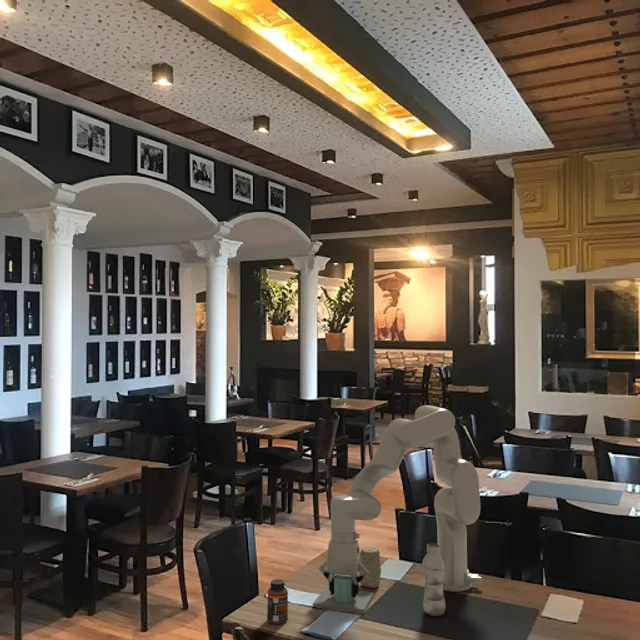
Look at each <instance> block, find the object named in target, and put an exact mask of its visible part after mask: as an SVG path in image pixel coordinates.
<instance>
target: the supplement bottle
mask: <svg viewBox="0 0 640 640" xmlns="http://www.w3.org/2000/svg"><path fill="white" fill-rule="evenodd" d="M285 586H286V585H285V581H284V579H280V578H279V579H277V578H276V579H272V580H271V581H270V587H269V588H268V589H267V593H266V594H267V595H266V596H267V601H266V602H267V608H266V609H267V622H268V623H269V624H272V625H276V626H277V625H278V626H279V625H283V624H285V623H287V622H288V619H289V618H288V617H289V605H288V604H289V598H288V597H289V595H288V594H289V591H288V589H287V588H286V587H285Z"/></svg>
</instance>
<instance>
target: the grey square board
mask: <svg viewBox="0 0 640 640" xmlns="http://www.w3.org/2000/svg"><path fill="white" fill-rule="evenodd" d="M374 593H375V592H370V591H359V592H358V594H357V595H356V597H355V598H354V600H352V601H349V602H339V601H336V600H334V594H333V595H331V591H329V587H324V589H323V590H322V591H321V592H320V594H318V596H317V597H316V598H315V600H314V601H313V603H312V608H313V607H316V608H315V609H321V608H322V609H323V610H332V611H340V612H347V613H354V614H355V613H356V614H365V612H366V611H367V610H368V608H369V606H370V604H371V602H372V601H373V599H374V597H375V596H374V595H375V594H374Z"/></svg>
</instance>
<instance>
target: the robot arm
mask: <svg viewBox="0 0 640 640" xmlns="http://www.w3.org/2000/svg"><path fill="white" fill-rule="evenodd" d="M455 425H456V417H455V415H454V414H453V413H452V411H450V410H449V409H446V408H443V407H438V406H433V405H420V406H419V407H418V408H416V410H415V413H414V420H412V419H411V420H410V419H406V418H395V419H393V420H392V421H391V422H390V423H389V425H388V427H387V428H386V431H385V432H384V435H383V436H382V439H381V441H380V443H379V445H378V447H377V449H376V452H375V453H374V455H373V457H372V459H371V460H370V461H369V462H367V464H366V465H365V466H364V467H363V468H362V469H361V470H360V471H359V472H358V474H357V476H356V477H355V479H354V480H353V482H352V484H351V487H350V489H349V491H348V494H337V495H334V496H333V497H331V500H330V539H329V540H328V546H327V554H326V560H325V561H324V562H323V563H322V564H321V565H320V566H319V568H318V570H319V571H320V572H321V573H322V574H323V576H324V578H326V580H327V582H328V588H329V591H331V595H333V594H334V576H335V575H337V574H340V575H350V576H351V577H352V580H353V585H352V597H353V598H355V597H356V595H357V594H358V592H359V589H360V588H359V586H360V585H359V583H360V581H361V580H362V579H363V578H364V577H365V576H366V575H367V574H368V572H369V571H368V570H367V569H366V568H365V567H364V566H363V565H362V564H361V559H360V552H361V550H360V545H359V540H358V539H360V538H361V535H360V533H357V532H356V521H357V520H358V521H373V520H375V519H377V518H378V517H379V515H380V514H381V513H382V504H381V501H380V500H379V499H378V498H377V497H375V496H373V495H372V493H373V491H374V489H375V487H376V485H377V484H378V483H379V482H380V481H381V480H383V479H384V478H385V477H387V476H388V477H389V476H390V475H392V474H394V473H396V472H397V471H398V469H399V467H400V465H401V463H402V460H403V459H404V456H405V454H406V452H407V450H408V449H418V448H420V447H423V446H425V445H428V444H430V443H432V445H433V452H434V466H435V467H434V468H435V475H436V478H437V479H438V480H439V481H440V483H442V484H444V485H447V486H446V487H443V488H440V489H439V490H438V491H437V492H436V494H435V495H434V502H433V503H434V504H433V505H434V512H435V518H436V526H437V527H436V529H437V532H436V533H437V534H436V536H437V539H436V540H437V544H438V545H439V550H440V553H439V555H440V556H441V557H442V559H443V561H444V574H443V591H446V592H451V593H452V592H456V593H457V592H458V593H460V592H466V591H468V590H470V589H472V587H473V583H475V584H482V577H481V576H479V575H478V574H472V573H470V570H469V569H468V551H467V550H468V549H467V548H468V546H467V545H468V543H467V542H468V541H467V537H468V536H467V535H468V533H467V526H469V525H472V524H474V523H476V521H477V520H478V519H479V517H480V514H481V495H480V493H481V492H480V481H479V474H478V471H477V469H476V467H475V466H474V464H472V462H470V461H468V460H466V459H463V458H462V452H461V446H460V439H459V435H458V432H457V431H456V428H455ZM466 525H467V526H466ZM360 570H361V571H362V574H361V575H360V576H359V571H360Z"/></svg>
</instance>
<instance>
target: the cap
mask: <svg viewBox="0 0 640 640" xmlns="http://www.w3.org/2000/svg"><path fill="white" fill-rule="evenodd" d="M352 585H353V580H352V577H351V576H350V575H340V574H335V576H334V600H336V601H339V602H349V601H352V600H354V598H353V597H352Z"/></svg>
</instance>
